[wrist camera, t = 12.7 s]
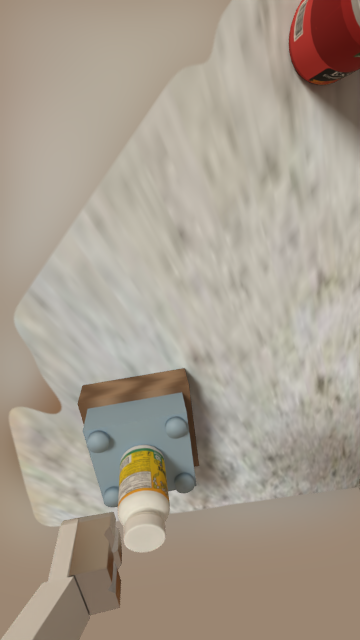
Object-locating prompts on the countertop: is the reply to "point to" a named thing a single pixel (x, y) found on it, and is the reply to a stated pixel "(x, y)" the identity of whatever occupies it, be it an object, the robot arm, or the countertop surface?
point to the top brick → (140, 440)
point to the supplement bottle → (143, 498)
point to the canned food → (325, 40)
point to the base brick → (140, 394)
